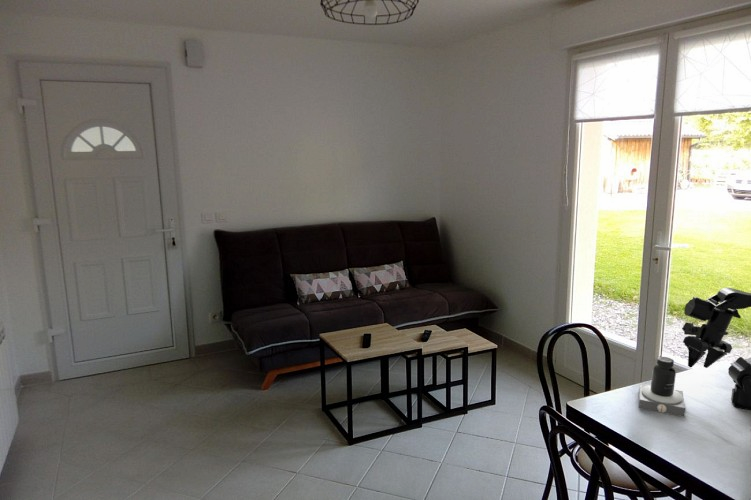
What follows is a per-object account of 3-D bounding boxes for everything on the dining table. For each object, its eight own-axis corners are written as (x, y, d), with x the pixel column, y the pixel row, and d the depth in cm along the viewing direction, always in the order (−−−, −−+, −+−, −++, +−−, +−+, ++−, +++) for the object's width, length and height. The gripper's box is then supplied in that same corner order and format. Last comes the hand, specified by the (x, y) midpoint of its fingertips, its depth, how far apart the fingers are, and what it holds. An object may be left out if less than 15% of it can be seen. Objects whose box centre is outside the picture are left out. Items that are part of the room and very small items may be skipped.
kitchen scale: (681, 399, 178) (682, 389, 177) (684, 417, 166) (685, 406, 165) (639, 391, 184) (640, 381, 183) (639, 408, 172) (640, 398, 171)
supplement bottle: (671, 399, 170) (675, 365, 168) (648, 393, 174) (651, 359, 172) (675, 391, 175) (679, 358, 173) (652, 386, 179) (656, 353, 177)
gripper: (709, 316, 182) (690, 355, 185) (678, 312, 173) (659, 354, 176) (741, 331, 172) (721, 372, 176) (710, 327, 163) (690, 371, 167)
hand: (697, 367), depth 174 cm, fingers open, 9 cm apart
